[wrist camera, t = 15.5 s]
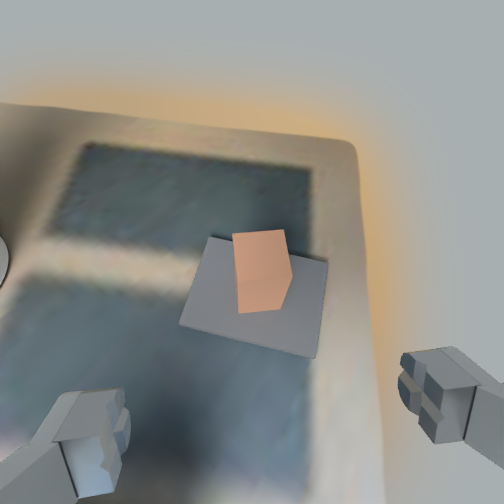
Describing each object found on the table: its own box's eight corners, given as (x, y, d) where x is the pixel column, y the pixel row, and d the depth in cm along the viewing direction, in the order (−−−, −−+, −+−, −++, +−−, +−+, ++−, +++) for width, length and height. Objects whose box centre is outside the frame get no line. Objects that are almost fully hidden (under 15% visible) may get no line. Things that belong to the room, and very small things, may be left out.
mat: (179, 325, 36) (178, 323, 35) (209, 240, 42) (208, 236, 41) (313, 359, 35) (315, 357, 34) (326, 266, 40) (328, 263, 40)
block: (238, 313, 36) (237, 281, 27) (234, 274, 38) (232, 233, 30) (280, 309, 37) (292, 276, 28) (274, 270, 39) (283, 229, 30)
